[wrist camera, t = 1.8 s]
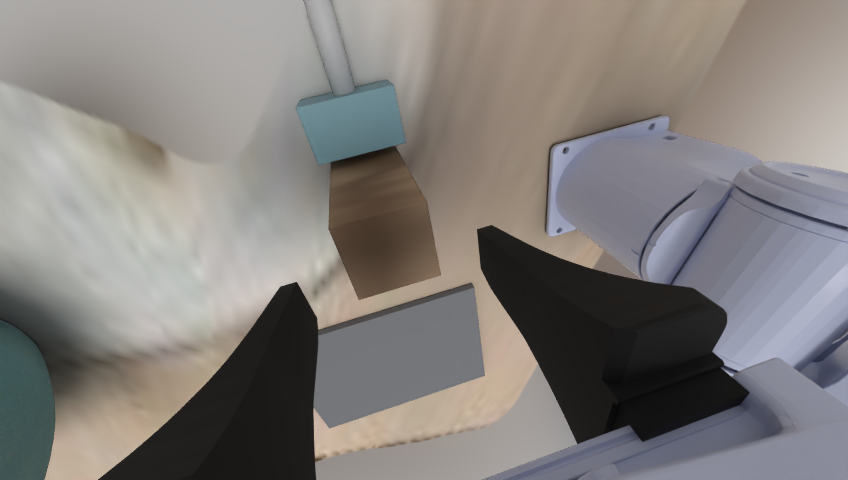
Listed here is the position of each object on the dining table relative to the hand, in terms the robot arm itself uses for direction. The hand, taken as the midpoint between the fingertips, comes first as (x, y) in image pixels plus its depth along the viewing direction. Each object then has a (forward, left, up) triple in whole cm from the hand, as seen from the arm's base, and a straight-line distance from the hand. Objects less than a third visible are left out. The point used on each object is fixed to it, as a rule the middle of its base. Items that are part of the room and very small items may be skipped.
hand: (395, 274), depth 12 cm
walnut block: (0, 0, -10) cm, 10 cm away
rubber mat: (+3, +19, -10) cm, 22 cm away
